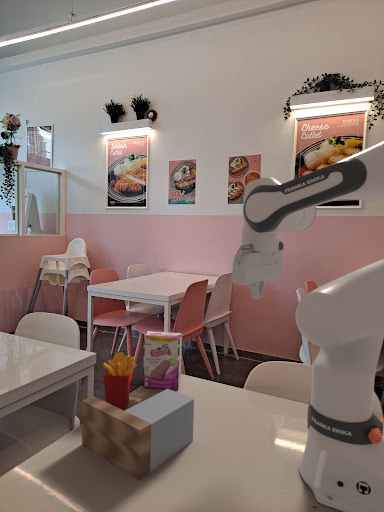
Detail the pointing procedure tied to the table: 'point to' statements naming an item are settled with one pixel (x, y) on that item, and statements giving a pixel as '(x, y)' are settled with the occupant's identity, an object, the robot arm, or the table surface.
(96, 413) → the walnut board
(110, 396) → the french fries
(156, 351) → the candy bar box
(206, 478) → the table surface
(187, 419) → the slate block
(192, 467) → the table surface
